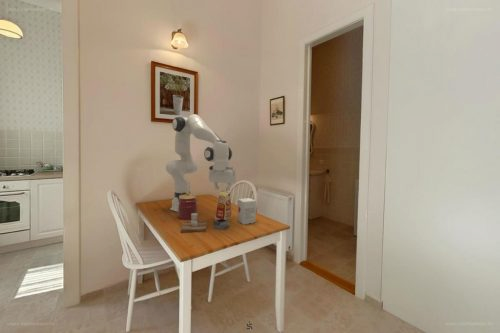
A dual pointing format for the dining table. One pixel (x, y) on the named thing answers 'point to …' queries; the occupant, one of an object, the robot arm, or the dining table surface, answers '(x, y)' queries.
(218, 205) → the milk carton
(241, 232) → the dining table surface
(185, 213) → the canister
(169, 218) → the dining table surface
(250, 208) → the supplement box
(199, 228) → the post base
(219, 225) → the collar
